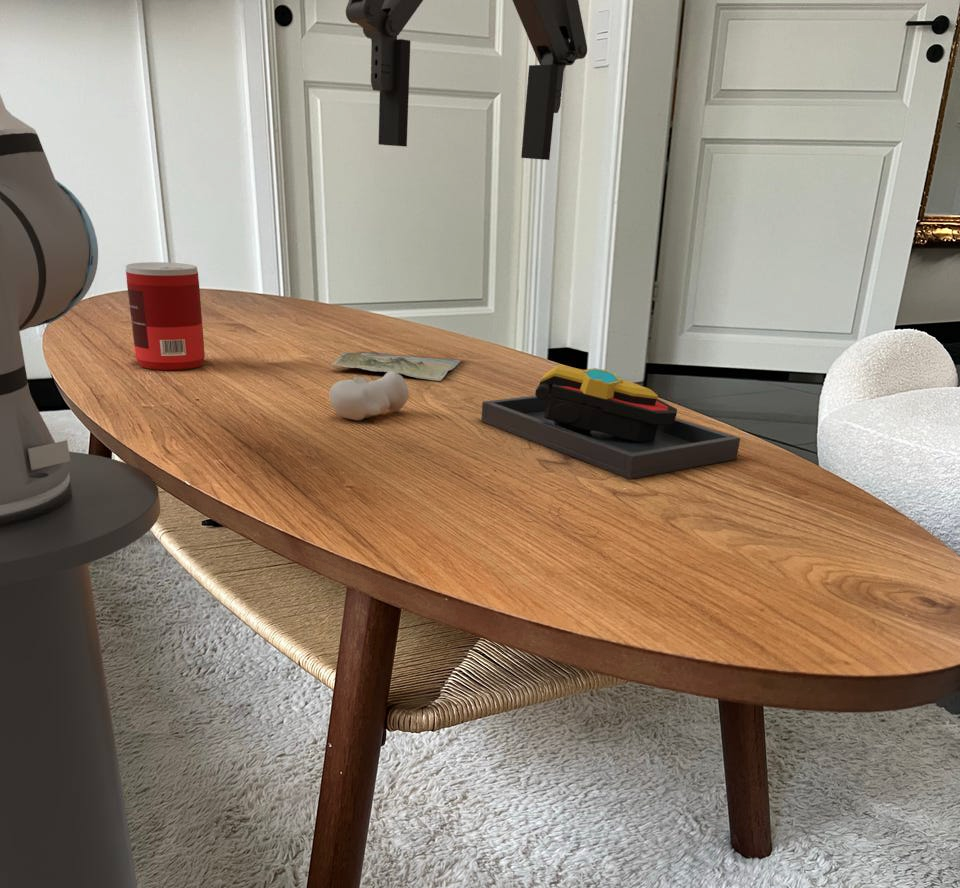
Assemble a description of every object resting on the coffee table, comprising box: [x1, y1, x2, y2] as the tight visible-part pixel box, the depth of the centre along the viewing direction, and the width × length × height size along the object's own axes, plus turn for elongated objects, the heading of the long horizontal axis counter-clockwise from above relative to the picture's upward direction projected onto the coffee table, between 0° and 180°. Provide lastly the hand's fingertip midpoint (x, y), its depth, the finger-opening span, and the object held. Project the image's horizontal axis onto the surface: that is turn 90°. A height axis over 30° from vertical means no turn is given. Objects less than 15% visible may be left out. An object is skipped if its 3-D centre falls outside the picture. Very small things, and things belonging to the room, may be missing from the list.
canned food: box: [125, 261, 206, 371], centre depth 109 cm, size 8×8×11 cm
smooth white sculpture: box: [328, 371, 409, 421], centre depth 93 cm, size 4×8×5 cm
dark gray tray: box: [481, 395, 741, 480], centre depth 90 cm, size 22×14×2 cm, turn 36°
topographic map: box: [330, 351, 462, 382], centre depth 117 cm, size 14×14×2 cm
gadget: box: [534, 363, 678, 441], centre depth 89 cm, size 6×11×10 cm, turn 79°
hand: (467, 153), depth 72 cm, fingers open, 13 cm apart
